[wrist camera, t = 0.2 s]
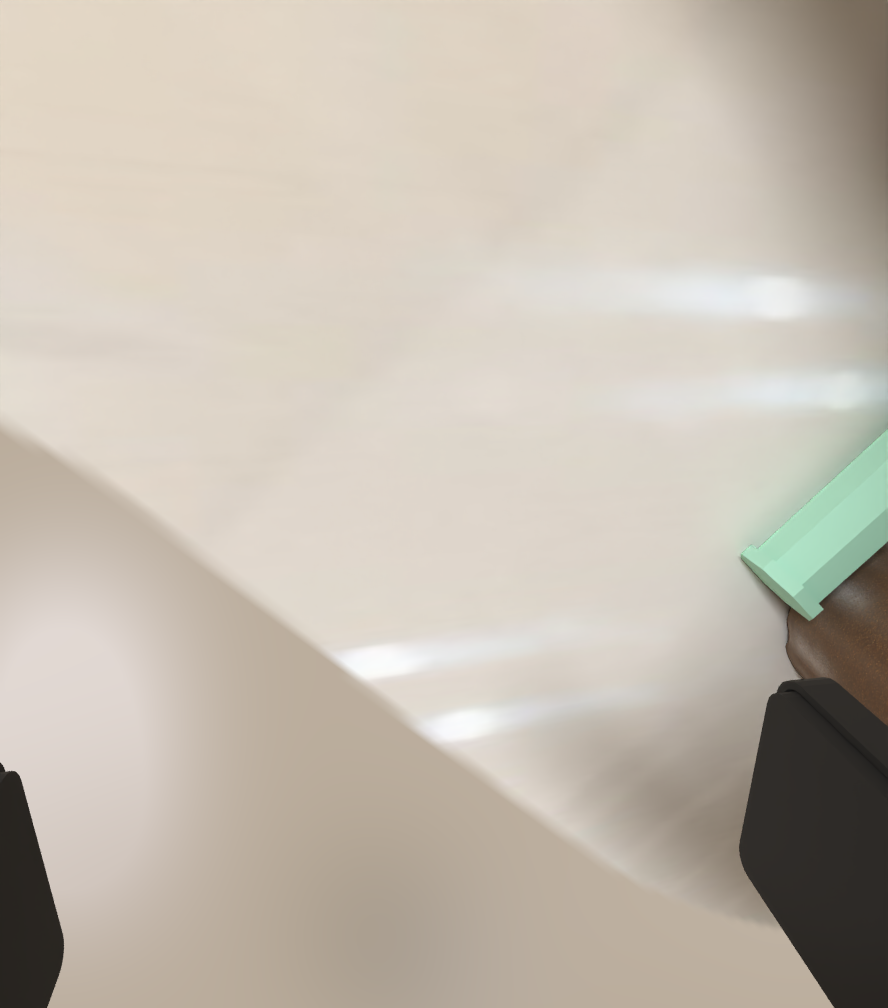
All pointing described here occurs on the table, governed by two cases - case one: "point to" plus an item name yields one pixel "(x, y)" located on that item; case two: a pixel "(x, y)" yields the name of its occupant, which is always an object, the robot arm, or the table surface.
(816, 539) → the mint green tapered bar
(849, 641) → the plant pot
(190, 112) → the table surface
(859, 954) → the robot arm
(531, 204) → the table surface
